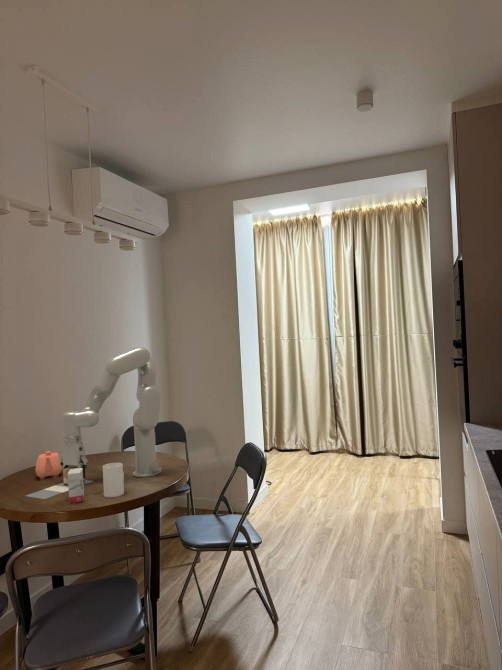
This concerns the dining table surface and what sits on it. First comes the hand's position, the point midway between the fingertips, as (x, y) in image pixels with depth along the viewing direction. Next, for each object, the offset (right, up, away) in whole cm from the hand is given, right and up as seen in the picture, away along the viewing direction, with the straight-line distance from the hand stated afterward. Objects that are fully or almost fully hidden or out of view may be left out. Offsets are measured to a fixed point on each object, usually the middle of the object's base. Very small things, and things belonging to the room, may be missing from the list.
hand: (74, 477), depth 212 cm
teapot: (-18, -5, +17) cm, 26 cm away
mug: (+22, -2, -14) cm, 26 cm away
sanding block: (0, -2, 0) cm, 2 cm away
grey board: (-3, -3, -7) cm, 8 cm away
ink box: (+9, -3, -21) cm, 23 cm away
